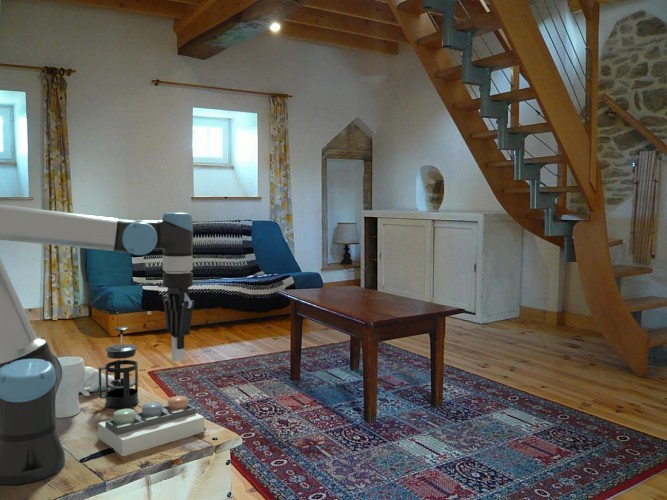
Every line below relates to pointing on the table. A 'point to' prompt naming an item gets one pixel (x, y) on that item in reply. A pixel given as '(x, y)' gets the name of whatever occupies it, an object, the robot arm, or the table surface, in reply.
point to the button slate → (152, 409)
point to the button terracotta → (177, 402)
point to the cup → (69, 386)
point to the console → (151, 430)
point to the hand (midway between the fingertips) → (177, 360)
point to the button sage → (124, 416)
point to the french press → (122, 391)
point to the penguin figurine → (93, 380)
